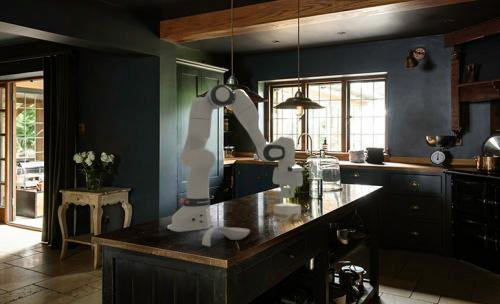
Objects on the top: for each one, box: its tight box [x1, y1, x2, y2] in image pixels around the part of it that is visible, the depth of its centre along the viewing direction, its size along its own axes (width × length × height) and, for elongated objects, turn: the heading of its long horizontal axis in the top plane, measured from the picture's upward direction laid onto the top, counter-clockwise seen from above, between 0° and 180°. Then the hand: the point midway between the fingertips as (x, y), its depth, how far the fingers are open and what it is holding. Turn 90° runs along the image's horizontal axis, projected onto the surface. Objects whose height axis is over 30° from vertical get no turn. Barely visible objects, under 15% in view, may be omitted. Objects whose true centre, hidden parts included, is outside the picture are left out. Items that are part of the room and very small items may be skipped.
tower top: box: [274, 202, 302, 215], centre depth 220 cm, size 10×10×4 cm
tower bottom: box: [273, 212, 302, 223], centre depth 220 cm, size 10×10×4 cm
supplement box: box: [266, 189, 284, 215], centre depth 236 cm, size 8×5×13 cm, turn 62°
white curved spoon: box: [201, 225, 251, 247], centre depth 177 cm, size 24×12×7 cm, turn 138°
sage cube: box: [280, 186, 295, 199], centre depth 219 cm, size 5×5×5 cm
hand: (287, 193), depth 219 cm, fingers closed on sage cube, 5 cm apart
